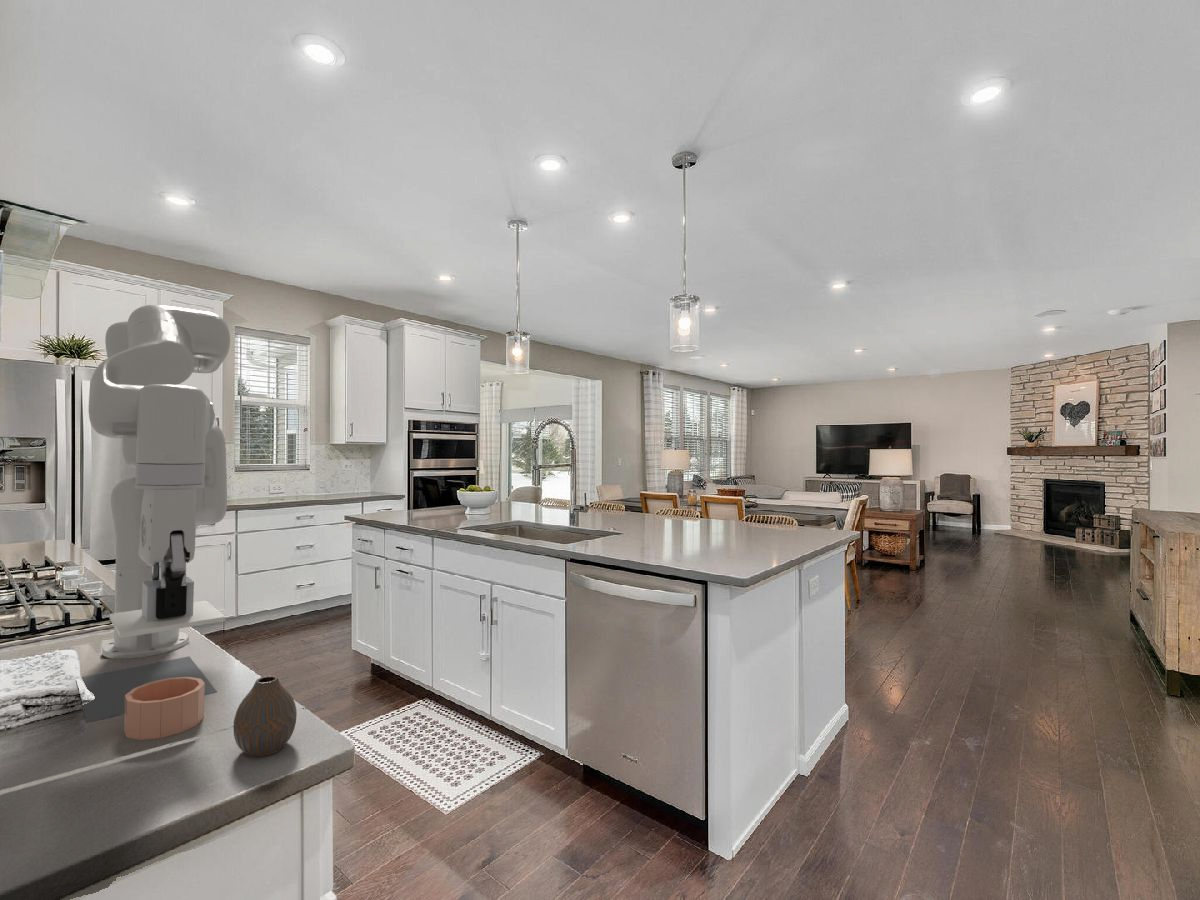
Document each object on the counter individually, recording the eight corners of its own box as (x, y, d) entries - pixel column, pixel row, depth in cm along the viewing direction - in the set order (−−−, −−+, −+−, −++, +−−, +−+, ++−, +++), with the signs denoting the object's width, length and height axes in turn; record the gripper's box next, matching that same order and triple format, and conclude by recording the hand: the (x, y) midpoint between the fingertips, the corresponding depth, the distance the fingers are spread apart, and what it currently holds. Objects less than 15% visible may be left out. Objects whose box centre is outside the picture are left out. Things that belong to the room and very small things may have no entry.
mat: (75, 680, 92) (75, 678, 92) (189, 658, 103) (189, 656, 103) (86, 725, 78) (86, 722, 78) (217, 694, 89) (217, 691, 89)
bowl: (120, 725, 79) (121, 688, 79) (195, 706, 85) (196, 672, 85) (129, 749, 73) (130, 708, 73) (209, 727, 79) (210, 690, 79)
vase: (267, 766, 70) (269, 693, 70) (218, 759, 71) (220, 687, 71) (307, 738, 76) (309, 671, 76) (262, 732, 78) (264, 666, 78)
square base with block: (109, 618, 79) (110, 580, 79) (206, 604, 86) (207, 570, 86) (120, 638, 71) (121, 596, 71) (225, 621, 79) (226, 583, 79)
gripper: (126, 474, 82) (123, 605, 82) (146, 481, 70) (142, 633, 70) (191, 474, 87) (188, 596, 87) (219, 479, 75) (215, 621, 75)
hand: (167, 611), depth 79 cm, fingers closed on square base with block, 4 cm apart
